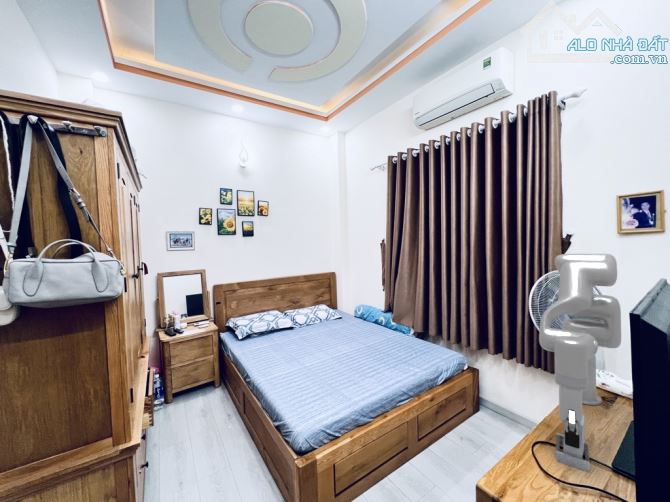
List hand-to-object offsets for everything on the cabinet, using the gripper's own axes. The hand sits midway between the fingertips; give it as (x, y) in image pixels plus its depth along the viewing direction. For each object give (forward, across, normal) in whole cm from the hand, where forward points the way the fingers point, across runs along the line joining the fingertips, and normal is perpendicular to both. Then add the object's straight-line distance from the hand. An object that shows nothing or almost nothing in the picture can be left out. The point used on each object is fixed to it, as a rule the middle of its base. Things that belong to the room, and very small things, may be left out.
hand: (571, 436), depth 85 cm
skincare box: (+5, 0, 0) cm, 5 cm away
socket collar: (+6, 0, 0) cm, 6 cm away
